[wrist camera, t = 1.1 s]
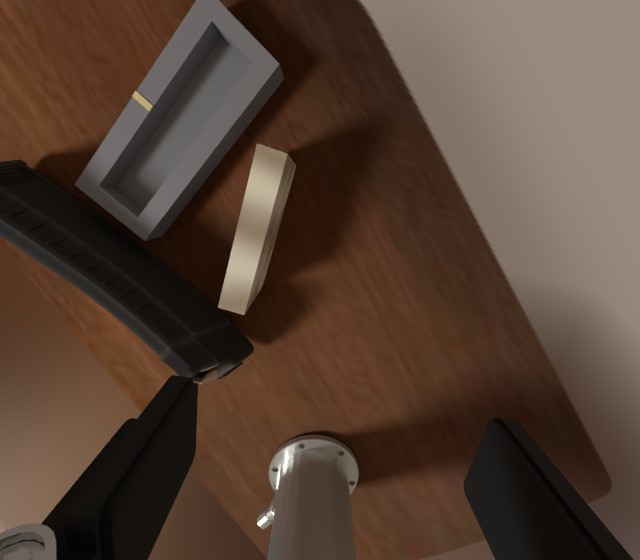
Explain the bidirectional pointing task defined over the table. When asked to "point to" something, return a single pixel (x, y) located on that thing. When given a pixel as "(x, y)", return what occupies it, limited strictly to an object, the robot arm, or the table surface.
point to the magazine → (118, 275)
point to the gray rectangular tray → (181, 120)
